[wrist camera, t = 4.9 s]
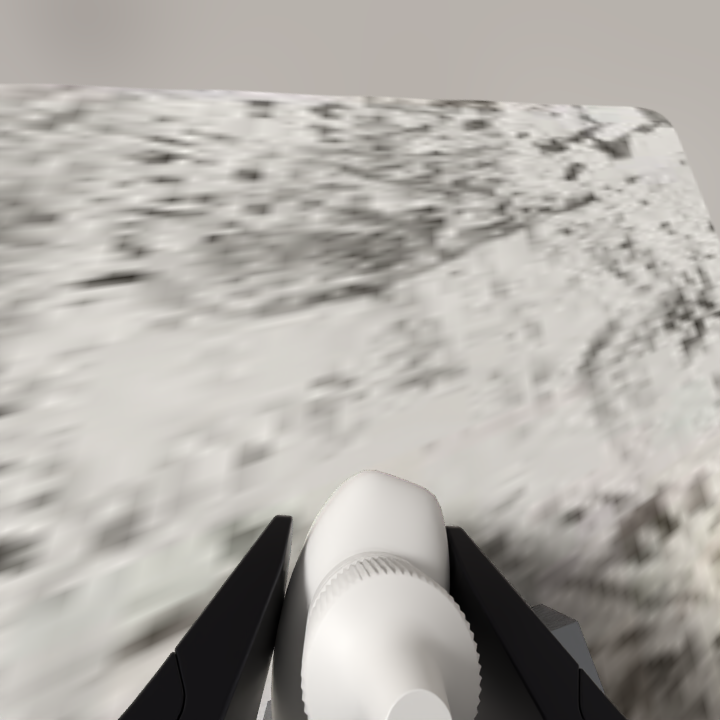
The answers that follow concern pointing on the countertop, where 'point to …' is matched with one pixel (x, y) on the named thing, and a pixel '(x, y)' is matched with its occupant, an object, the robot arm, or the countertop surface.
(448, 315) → the countertop surface
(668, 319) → the countertop surface
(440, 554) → the eye dropper bottle
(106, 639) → the countertop surface
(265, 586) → the robot arm
